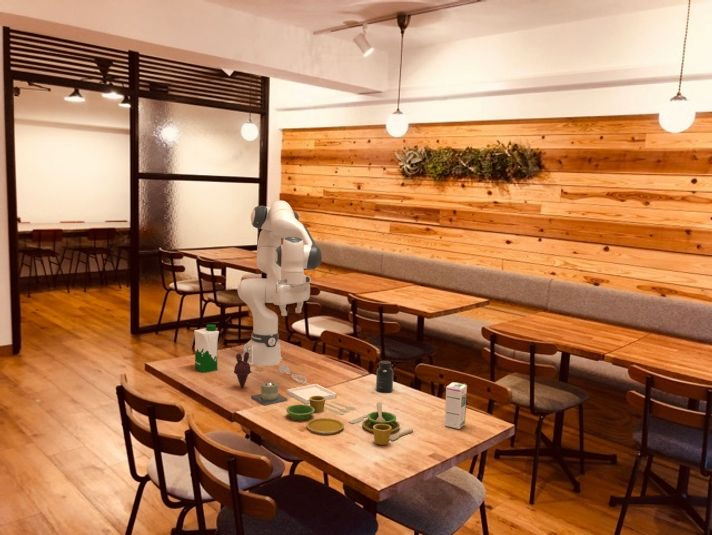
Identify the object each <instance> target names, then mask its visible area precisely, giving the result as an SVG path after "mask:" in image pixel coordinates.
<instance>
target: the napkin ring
mask: <svg viewBox="0 0 712 535" xmlns="http://www.w3.org/2000/svg"><path fill="white" fill-rule="evenodd" d="M268 382H269V381H266V382H262V383H261V384H260V394H261V398H262V399H264V400H273V399H277V397H278V394H279V383H277V382H275V381H270V382H271V383H272V386H267V383H268Z"/></svg>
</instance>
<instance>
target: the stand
mask: <svg viewBox="0 0 712 535" xmlns="http://www.w3.org/2000/svg"><path fill="white" fill-rule="evenodd" d="M267 382H268V383H267V386H272V383H271V382H272V381H267ZM250 396H251V397H250V398H251V399H252V400H254V402H256V403H258V404H260V405H262V406H264V407H266V406H271V405H274V404H279V403H284V402H288V398H287V397H286V396H284V395H282V394H280V393H278V397H277V399H273V400H264V399H262V398H261V393H258V394H253V395H250Z"/></svg>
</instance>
